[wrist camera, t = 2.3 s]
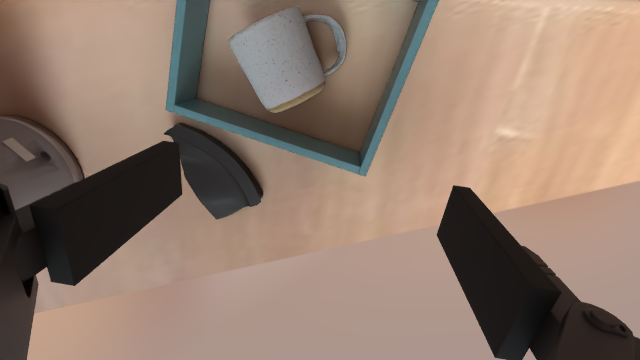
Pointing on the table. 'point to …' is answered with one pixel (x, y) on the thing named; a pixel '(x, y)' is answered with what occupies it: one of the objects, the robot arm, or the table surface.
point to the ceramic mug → (284, 57)
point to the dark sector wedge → (215, 172)
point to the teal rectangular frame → (185, 103)
